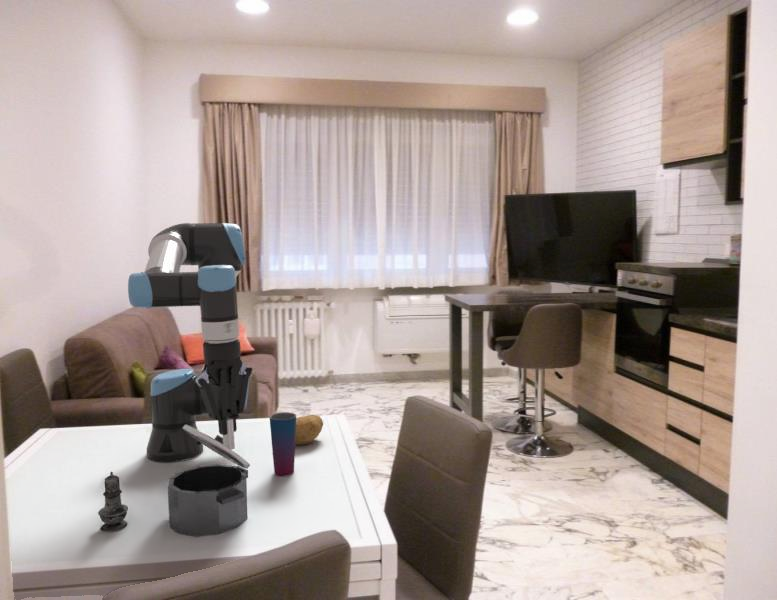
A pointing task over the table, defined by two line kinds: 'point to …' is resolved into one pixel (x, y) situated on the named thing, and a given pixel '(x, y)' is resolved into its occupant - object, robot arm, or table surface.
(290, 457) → the cup
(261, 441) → the table surface
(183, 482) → the pot
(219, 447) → the lid
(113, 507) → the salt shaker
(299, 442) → the potato
